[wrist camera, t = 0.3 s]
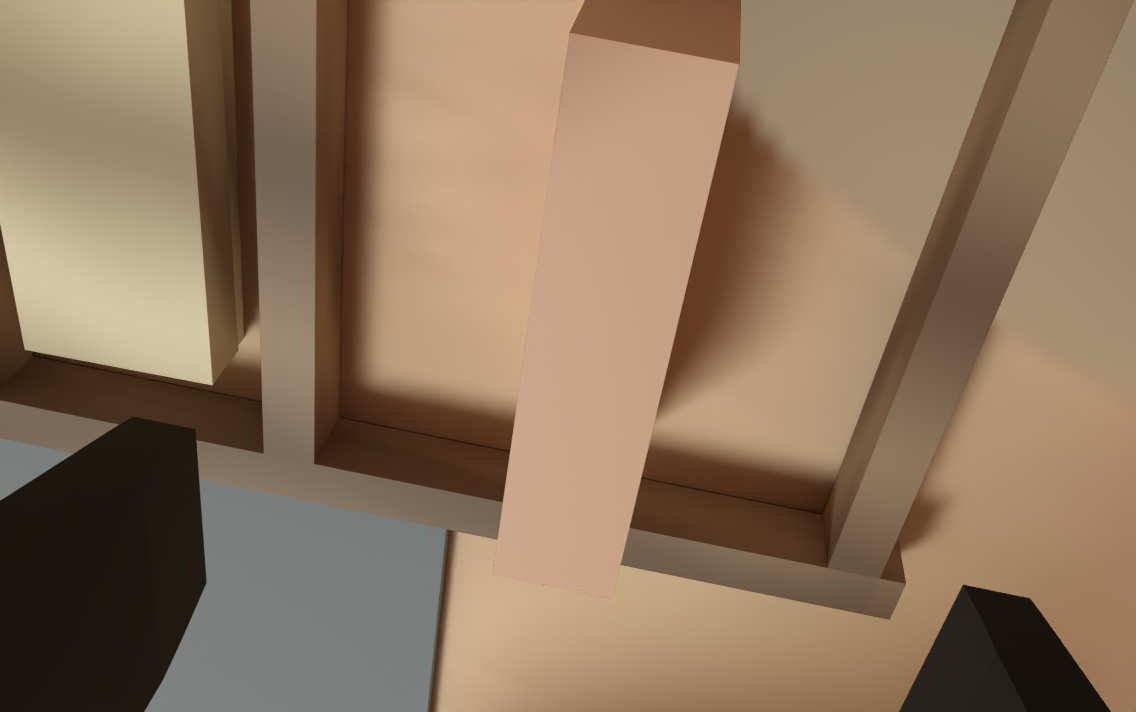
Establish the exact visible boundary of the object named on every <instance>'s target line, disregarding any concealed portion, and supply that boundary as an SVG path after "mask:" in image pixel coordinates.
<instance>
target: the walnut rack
mask: <svg viewBox="0 0 1136 712" xmlns="http://www.w3.org/2000/svg"><path fill="white" fill-rule="evenodd" d="M1133 1H1134V0H1016V3H1015V6H1014V9H1013V11H1012V14H1011V16H1010V19H1009V22H1008V24H1007V27H1006V30H1005V32H1004V35H1003V37H1002V40H1001V43H1000V46H999V48H998V51H997V54H996V56H995V59H994V61H993V64H992V67H991V69H990V72H989V75H988V77H987V80H986V83H985V85H984V88H983V91H982V93H981V96H980V98H979V101H978V104H977V106H976V109H975V112H974V115H973V117H972V120H971V123H970V125H969V128H968V130H967V133H966V136H965V138H964V141H963V144H962V146H961V149H960V152H959V154H958V157H957V160H956V162H955V165H954V168H953V170H952V173H951V175H950V178H949V181H948V184H947V186H946V189H945V191H944V194H943V197H942V199H941V202H940V205H939V208H938V210H937V213H936V215H935V218H934V221H933V223H932V226H931V229H930V231H929V234H928V237H927V239H926V242H925V245H924V247H923V250H922V252H921V255H920V258H919V260H918V263H917V266H916V268H915V271H914V274H913V276H912V279H911V282H910V284H909V287H908V290H907V292H906V295H905V298H904V300H903V303H902V306H901V308H900V311H899V313H898V316H897V319H896V321H895V324H894V327H893V329H892V332H891V335H890V337H889V340H888V343H887V345H886V348H885V351H884V353H883V356H882V359H881V361H880V364H879V367H878V369H877V372H876V375H875V377H874V380H873V382H872V385H871V388H870V390H869V393H868V396H867V398H866V401H865V404H864V406H863V409H862V412H861V414H860V417H859V420H858V422H857V425H856V428H855V430H854V433H853V436H852V438H851V441H850V444H849V446H848V449H847V451H846V454H845V457H844V459H843V462H842V465H841V467H840V470H839V473H838V475H837V478H836V481H835V483H834V486H833V489H832V491H831V494H830V497H829V499H828V502H827V505H826V507H825V510H824V513H823V515H821V514H816V513H811V512H806V511H801V510H796V509H791V508H786V507H781V506H776V505H771V504H766V503H761V502H756V501H751V500H746V499H741V498H736V497H731V496H726V495H721V494H716V493H711V492H706V491H701V490H696V489H691V488H686V487H681V486H676V485H671V484H667V483H662V482H657V481H652V480H647V479H642V478H641V481H640V485H639V489H638V494H637V498H636V502H635V506H634V510H633V515H632V519H631V523H630V527H629V531H628V536H627V540H626V544H625V548H624V552H623V557H622V561H621V565H624V566H629V567H634V568H639V569H644V570H649V571H653V572H658V573H663V574H668V575H673V576H678V577H683V578H688V579H693V580H698V581H702V582H707V583H712V584H717V585H722V586H727V587H732V588H737V589H742V590H747V591H751V592H756V593H761V594H766V595H771V596H776V597H781V598H786V599H791V600H796V601H801V602H805V603H810V604H815V605H820V606H825V607H830V608H835V609H840V610H845V611H850V612H854V613H859V614H864V615H869V616H874V617H879V618H884V619H889V620H890V618H891V615H892V613H893V611H894V609H895V607H896V605H897V602H898V600H899V598H900V596H901V594H902V592H903V589H904V587H905V585H906V581H905V575H904V569H903V564H902V558H901V552H900V546H899V540H898V536H899V534H900V531H901V529H902V527H903V525H904V522H905V520H906V518H907V515H908V513H909V511H910V509H911V506H912V504H913V502H914V499H915V497H916V495H917V493H918V490H919V488H920V486H921V484H922V481H923V479H924V477H925V474H926V472H927V470H928V468H929V465H930V463H931V461H932V458H933V456H934V454H935V452H936V449H937V447H938V445H939V443H940V440H941V438H942V436H943V433H944V431H945V429H946V427H947V424H948V422H949V420H950V417H951V415H952V413H953V411H954V408H955V406H956V404H957V402H958V399H959V397H960V395H961V392H962V390H963V388H964V386H965V383H966V381H967V379H968V376H969V374H970V372H971V370H972V367H973V365H974V363H975V361H976V358H977V356H978V354H979V351H980V349H981V347H982V345H983V342H984V340H985V338H986V335H987V333H988V331H989V329H990V326H991V324H992V322H993V320H994V317H995V315H996V313H997V310H998V308H999V306H1000V304H1001V301H1002V299H1003V297H1004V294H1005V292H1006V290H1007V287H1008V285H1009V283H1010V281H1011V279H1012V276H1013V274H1014V272H1015V269H1016V267H1017V265H1018V262H1019V260H1020V258H1021V256H1022V253H1023V251H1024V249H1025V246H1026V244H1027V242H1028V240H1029V238H1030V235H1031V233H1032V231H1033V228H1034V226H1035V224H1036V221H1037V219H1038V217H1039V215H1040V212H1041V210H1042V208H1043V206H1044V203H1045V201H1046V199H1047V197H1048V194H1049V192H1050V189H1051V187H1052V185H1053V183H1054V180H1055V178H1056V176H1057V174H1058V171H1059V169H1060V167H1061V165H1062V162H1063V160H1064V158H1065V156H1066V153H1067V151H1068V149H1069V146H1070V144H1071V142H1072V139H1073V137H1074V135H1075V133H1076V130H1077V128H1078V126H1079V124H1080V121H1081V119H1082V117H1083V114H1084V112H1085V110H1086V108H1087V105H1088V103H1089V101H1090V98H1091V96H1092V94H1093V92H1094V89H1095V87H1096V85H1097V82H1098V80H1099V78H1100V76H1101V73H1102V71H1103V69H1104V66H1105V64H1106V62H1107V59H1108V57H1109V55H1110V53H1111V51H1112V48H1113V46H1114V44H1115V42H1116V39H1117V37H1118V35H1119V32H1120V30H1121V28H1122V26H1123V23H1124V21H1125V19H1126V17H1127V14H1128V12H1129V10H1130V7H1131V5H1132V3H1133ZM250 14H251V47H252V80H253V113H254V146H255V180H256V213H257V246H258V279H259V312H260V345H261V378H262V402H258V401H253V400H248V399H243V398H238V397H233V396H228V395H223V394H218V393H213V392H208V391H203V390H198V389H193V388H188V387H183V386H178V385H173V384H168V383H163V382H158V381H153V380H148V379H143V378H138V377H133V376H129V375H124V374H119V373H114V372H109V371H104V370H99V369H94V368H89V367H84V366H79V365H74V364H69V363H64V362H59V361H54V360H49V359H44V358H39V357H34V356H33V353H32V351H29V350H25V348H24V343H23V338H22V333H21V328H20V322H19V317H18V312H17V307H16V302H15V297H14V292H13V287H12V282H11V276H10V271H9V266H8V261H7V256H6V251H5V246H4V241H3V236H2V230H1V225H0V438H1V439H6V440H11V441H16V442H21V443H26V444H31V445H36V446H41V447H45V448H50V449H55V450H60V451H65V452H70V453H75V452H77V451H78V450H80V449H82V448H83V447H85V446H86V445H88V444H89V443H91V442H92V441H94V440H96V439H97V438H99V437H100V436H102V435H103V434H105V433H107V432H108V431H110V430H111V429H113V428H115V427H116V426H118V425H120V424H121V423H123V422H124V421H126V420H128V419H129V418H131V417H133V416H134V417H139V418H144V419H149V420H153V421H158V422H163V423H168V424H173V425H178V426H183V427H188V428H193V429H196V441H197V455H198V469H199V479H202V480H207V481H212V482H217V483H222V484H227V485H232V486H237V487H242V488H246V489H251V490H256V491H261V492H266V493H271V494H276V495H281V496H286V497H291V498H296V499H300V500H305V501H310V502H315V503H320V504H325V505H330V506H335V507H340V508H345V509H349V510H354V511H359V512H364V513H369V514H374V515H379V516H384V517H389V518H394V519H398V520H403V521H408V522H413V523H418V524H423V525H428V526H433V527H438V528H443V529H448V530H452V531H457V532H462V533H467V534H472V535H477V536H482V537H487V538H492V539H497V540H498V534H499V527H500V520H501V513H502V506H503V499H504V491H505V484H506V477H507V470H508V463H509V456H510V452H507V451H502V450H497V449H492V448H487V447H482V446H477V445H472V444H467V443H462V442H457V441H452V440H447V439H442V438H437V437H432V436H427V435H422V434H417V433H412V432H407V431H402V430H398V429H393V428H388V427H383V426H378V425H373V424H368V423H363V422H358V421H353V420H348V419H343V418H339V387H340V341H341V295H342V248H343V202H344V156H345V110H346V64H347V18H348V0H250Z"/></svg>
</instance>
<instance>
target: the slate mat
mask: <svg viewBox="0 0 1136 712" xmlns="http://www.w3.org/2000/svg"><path fill="white" fill-rule="evenodd" d="M72 454H74V453H70V452H65V451H60V450H55V449H50V448H45V447H41V446H36V445H31V444H26V443H21V442H16V441H11V440H6V439H1V438H0V500H2V499H3V498H5V497H6V496H8V495H10V494H11V493H13V492H14V491H16V490H17V489H19V488H21V487H22V486H24V485H25V484H27V483H28V482H30V481H32V480H33V479H35V478H36V477H38V476H39V475H41V474H42V473H44V472H46V471H47V470H49V469H50V468H52V467H53V466H55V465H57V464H58V463H60V462H61V461H63V460H64V459H66V458H67V457H69V456H71V455H72ZM199 483H200V497H201V510H202V524H203V538H204V552H205V566H206V580H207V583H206V586H205V588H204V590H203V593H202V595H201V597H200V599H199V602H198V604H197V606H196V609H195V611H194V613H193V616H192V618H191V620H190V622H189V625H188V627H187V629H186V632H185V634H184V636H183V638H182V641H181V643H180V645H179V647H178V649H177V651H176V653H175V656H174V658H173V660H172V662H171V664H170V666H169V669H168V671H167V673H166V675H165V677H164V679H163V681H162V683H161V684H160V686H159V688H158V689H157V691H156V693H155V695H154V696H153V698H152V700H151V701H150V703H149V705H148V706H147V708H146V710H145V711H144V712H430V706H431V697H432V687H433V678H434V668H435V658H436V649H437V639H438V630H439V620H440V611H441V601H442V592H443V582H444V573H445V563H446V554H447V544H448V534H449V530H448V529H443V528H438V527H433V526H428V525H423V524H418V523H413V522H408V521H403V520H398V519H394V518H389V517H384V516H379V515H374V514H369V513H364V512H359V511H354V510H349V509H345V508H340V507H335V506H330V505H325V504H320V503H315V502H310V501H305V500H300V499H296V498H291V497H286V496H281V495H276V494H271V493H266V492H261V491H256V490H251V489H246V488H242V487H237V486H232V485H227V484H222V483H217V482H212V481H207V480H202V479H199Z"/></svg>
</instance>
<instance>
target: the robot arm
mask: <svg viewBox="0 0 1136 712" xmlns="http://www.w3.org/2000/svg"><path fill="white" fill-rule="evenodd" d="M206 583H207V580H206V566H205V552H204V538H203V524H202V510H201V497H200V483H199V469H198V455H197V441H196V429H193V428H188V427H183V426H178V425H173V424H168V423H163V422H158V421H153V420H149V419H144V418H139V417H134V416H133V417H131V418H129V419H128V420H126V421H124V422H123V423H121V424H120V425H118V426H116V427H115V428H113V429H111V430H110V431H108V432H107V433H105V434H103V435H102V436H100V437H99V438H97V439H96V440H94V441H92V442H91V443H89V444H88V445H86V446H85V447H83V448H82V449H80V450H78V451H77V452H75V453H74V454H72V455H71V456H69V457H67V458H66V459H64V460H63V461H61V462H60V463H58V464H57V465H55V466H53V467H52V468H50V469H49V470H47V471H46V472H44V473H42V474H41V475H39V476H38V477H36V478H35V479H33V480H32V481H30V482H28V483H27V484H25V485H24V486H22V487H21V488H19V489H17V490H16V491H14V492H13V493H11V494H10V495H8V496H6V497H5V498H3V499H2V500H0V712H144V711H145V710H146V708H147V706H148V705H149V703H150V701H151V700H152V698H153V696H154V695H155V693H156V691H157V689H158V688H159V686H160V684H161V683H162V681H163V679H164V677H165V675H166V673H167V671H168V669H169V666H170V664H171V662H172V660H173V658H174V656H175V653H176V651H177V649H178V647H179V645H180V643H181V641H182V638H183V636H184V634H185V632H186V629H187V627H188V625H189V622H190V620H191V618H192V616H193V613H194V611H195V609H196V606H197V604H198V602H199V599H200V597H201V595H202V593H203V590H204V588H205V586H206ZM899 712H1111V711H1110V710H1109V708H1108V707H1107V706H1106V704H1105V703H1104V701H1103V700H1102V698H1101V697H1100V696H1099V694H1098V693H1097V691H1096V690H1095V689H1094V687H1093V686H1092V684H1091V683H1090V681H1089V680H1088V679H1087V677H1086V676H1085V674H1084V673H1083V672H1082V670H1081V669H1080V667H1079V666H1078V664H1077V663H1076V662H1075V660H1074V659H1073V657H1072V656H1071V654H1070V653H1069V652H1068V650H1067V649H1066V647H1065V646H1064V644H1063V643H1062V642H1061V640H1060V639H1059V637H1058V636H1057V635H1056V633H1055V632H1054V630H1053V629H1052V628H1051V626H1050V625H1049V623H1048V622H1047V621H1046V619H1045V618H1044V617H1043V615H1042V614H1041V612H1040V611H1039V610H1038V608H1037V607H1036V606H1035V604H1034V603H1033V602H1032V600H1031V599H1030V598H1025V597H1020V596H1015V595H1010V594H1006V593H1001V592H996V591H991V590H986V589H981V588H976V587H971V586H966V585H963V586H962V588H961V590H960V592H959V594H958V596H957V598H956V600H955V602H954V604H953V606H952V608H951V610H950V612H949V614H948V616H947V618H946V620H945V622H944V624H943V626H942V628H941V630H940V632H939V634H938V636H937V638H936V640H935V642H934V644H933V646H932V648H931V650H930V652H929V654H928V656H927V658H926V660H925V662H924V664H923V666H922V668H921V670H920V671H919V673H918V675H917V677H916V679H915V681H914V683H913V685H912V687H911V689H910V691H909V693H908V695H907V697H906V699H905V701H904V703H903V705H902V707H901V709H900V711H899Z"/></svg>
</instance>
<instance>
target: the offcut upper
mask: <svg viewBox="0 0 1136 712" xmlns="http://www.w3.org/2000/svg"><path fill="white" fill-rule="evenodd" d="M0 225H1V230H2V236H3V241H4V246H5V251H6V256H7V261H8V266H9V271H10V276H11V282H12V287H13V292H14V297H15V302H16V307H17V312H18V317H19V322H20V328H21V333H22V338H23V343H24V348H25V350H29V351H34V352H39V353H45V354H50V355H55V356H60V357H66V358H71V359H76V360H81V361H87V362H92V363H97V364H102V365H108V366H113V367H118V368H124V369H129V370H134V371H139V372H145V373H150V374H155V375H160V376H166V377H171V378H176V379H182V380H187V381H192V382H197V383H203V384H208V385H213V384H214V383H215V382H216V380H217V379H218V377H219V376H220V375H221V373H222V372H223V370H224V369H225V368H226V366H227V365H228V363H229V362H230V361H231V359H232V358H233V357H234V355H235V354H236V352H237V351H238V337H237V320H236V302H235V284H234V267H233V249H232V231H231V214H230V196H229V178H228V161H227V143H226V125H225V108H224V90H223V72H222V55H221V37H220V19H219V2H218V0H0Z"/></svg>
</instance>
